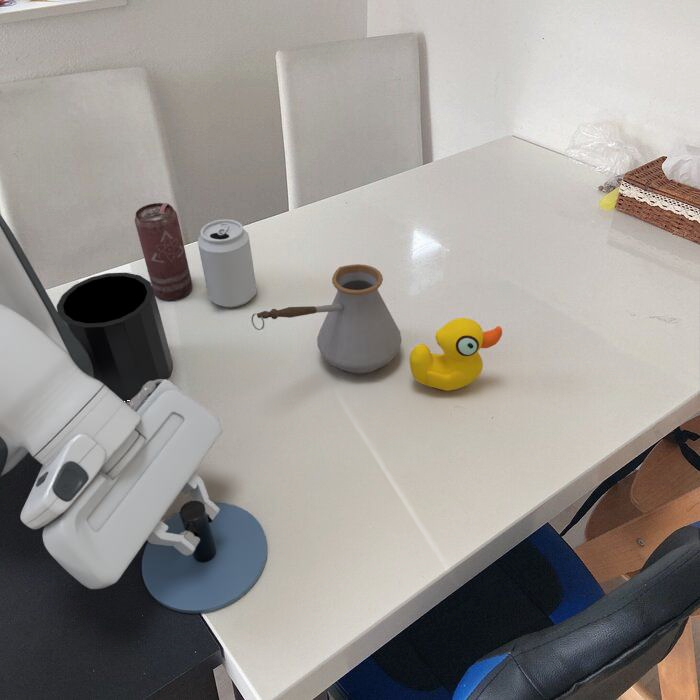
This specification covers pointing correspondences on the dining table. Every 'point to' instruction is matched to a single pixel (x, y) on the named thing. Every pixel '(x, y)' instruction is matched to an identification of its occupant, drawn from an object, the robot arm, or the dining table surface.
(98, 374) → the cup
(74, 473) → the robot arm
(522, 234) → the dining table surface
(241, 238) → the can
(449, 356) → the duckling
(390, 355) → the coffee pot
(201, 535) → the lid
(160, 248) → the can
